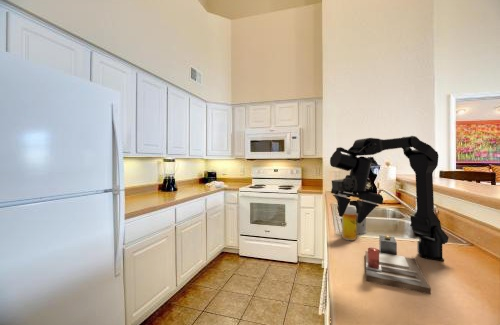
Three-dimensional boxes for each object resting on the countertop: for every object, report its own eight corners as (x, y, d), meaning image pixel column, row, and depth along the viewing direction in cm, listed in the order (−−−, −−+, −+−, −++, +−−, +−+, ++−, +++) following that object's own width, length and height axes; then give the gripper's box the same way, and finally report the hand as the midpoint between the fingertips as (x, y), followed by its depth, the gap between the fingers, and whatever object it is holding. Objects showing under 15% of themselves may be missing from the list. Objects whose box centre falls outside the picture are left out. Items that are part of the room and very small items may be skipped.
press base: (414, 263, 78) (414, 255, 78) (430, 294, 59) (430, 283, 59) (365, 255, 85) (365, 247, 85) (366, 280, 66) (366, 271, 66)
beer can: (358, 241, 100) (358, 207, 100) (343, 240, 101) (343, 206, 101) (354, 237, 106) (354, 205, 106) (340, 236, 107) (340, 204, 107)
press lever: (380, 270, 69) (380, 248, 69) (381, 275, 66) (381, 252, 66) (366, 267, 71) (365, 246, 71) (366, 272, 67) (366, 250, 67)
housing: (394, 252, 87) (394, 234, 87) (396, 259, 81) (396, 239, 81) (379, 250, 90) (379, 232, 90) (380, 256, 83) (380, 237, 83)
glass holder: (363, 229, 118) (363, 200, 119) (374, 238, 104) (374, 205, 105) (345, 228, 120) (345, 200, 120) (354, 237, 106) (354, 205, 106)
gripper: (323, 168, 84) (313, 209, 83) (358, 169, 66) (347, 221, 65) (348, 175, 86) (339, 215, 85) (389, 178, 68) (378, 229, 67)
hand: (349, 219), depth 76 cm, fingers open, 9 cm apart
